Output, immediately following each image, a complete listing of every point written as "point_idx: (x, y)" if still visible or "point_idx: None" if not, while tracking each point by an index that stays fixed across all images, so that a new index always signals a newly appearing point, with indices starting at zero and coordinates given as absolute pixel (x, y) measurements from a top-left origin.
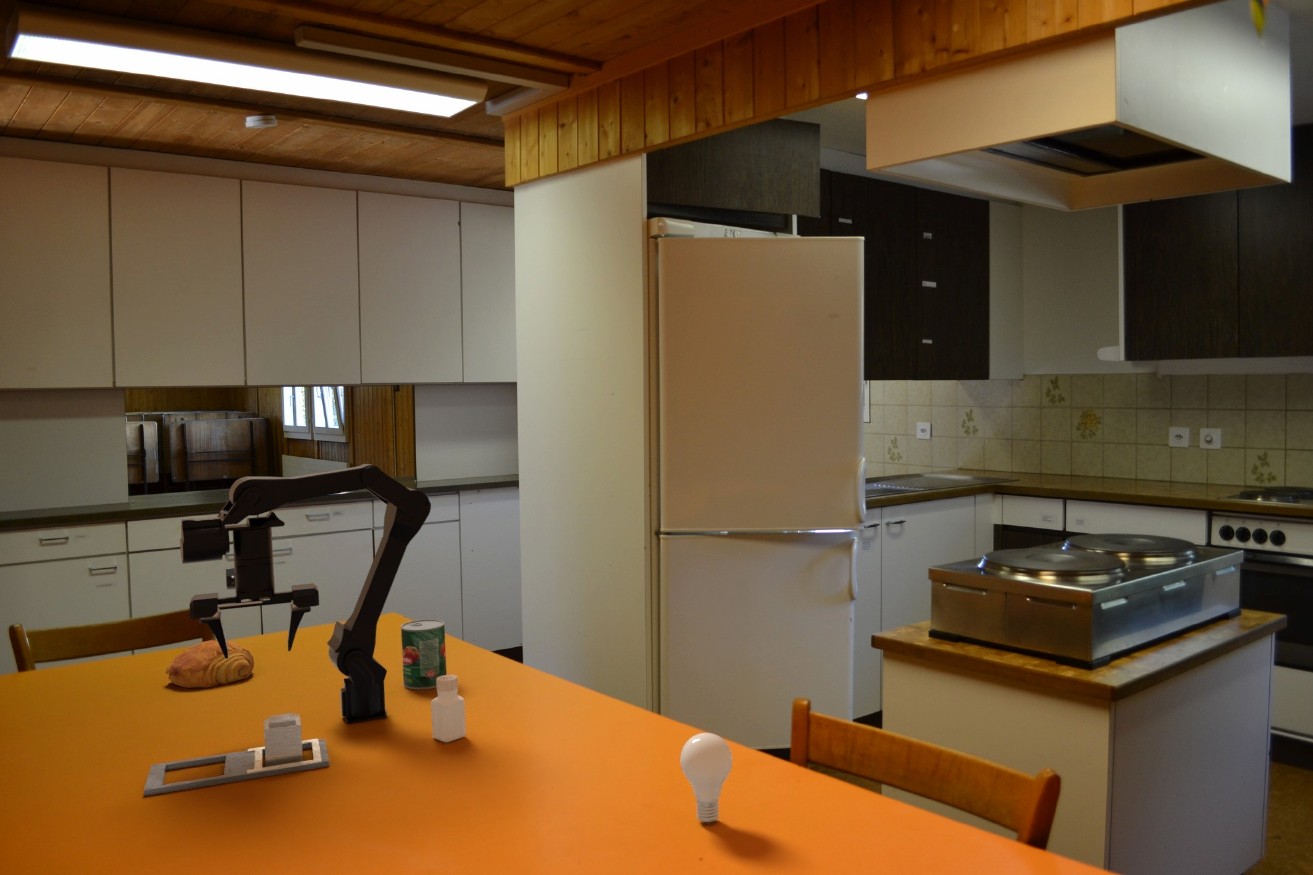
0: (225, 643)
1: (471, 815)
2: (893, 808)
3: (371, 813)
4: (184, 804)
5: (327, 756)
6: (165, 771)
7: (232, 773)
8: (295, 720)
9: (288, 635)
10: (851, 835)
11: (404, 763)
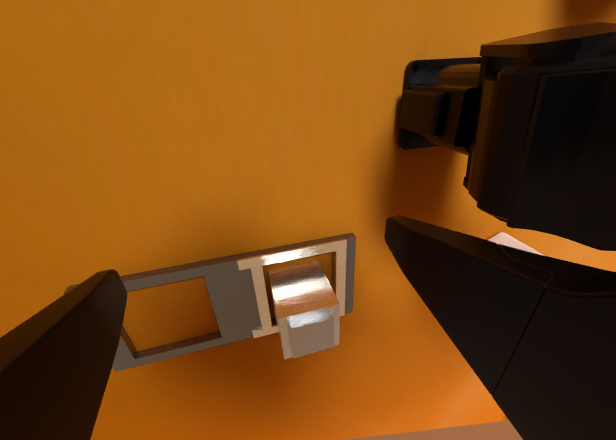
0: (101, 398)
1: (429, 390)
2: None
3: (370, 390)
4: (190, 380)
5: (351, 299)
6: None
7: (233, 333)
8: (333, 346)
9: (430, 295)
10: None
11: (422, 308)
